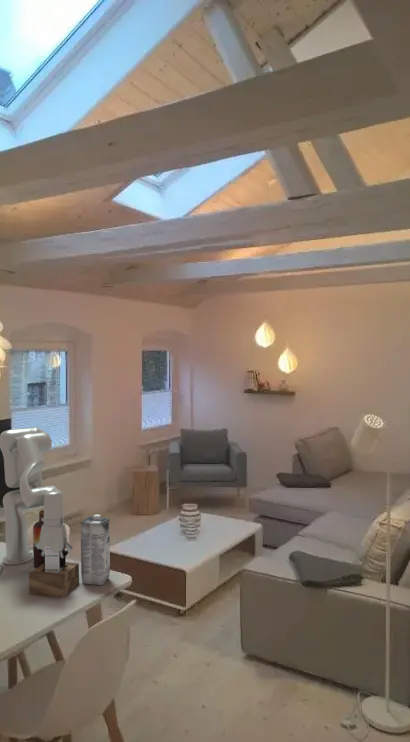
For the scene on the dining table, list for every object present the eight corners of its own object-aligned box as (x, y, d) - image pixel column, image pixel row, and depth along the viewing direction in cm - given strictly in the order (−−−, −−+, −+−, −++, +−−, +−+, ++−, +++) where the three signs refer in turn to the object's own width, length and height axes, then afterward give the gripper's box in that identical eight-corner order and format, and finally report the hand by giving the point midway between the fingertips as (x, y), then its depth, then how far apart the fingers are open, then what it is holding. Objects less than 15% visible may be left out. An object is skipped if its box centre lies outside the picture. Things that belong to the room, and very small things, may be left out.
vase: (28, 575, 232) (27, 514, 231) (42, 565, 242) (41, 506, 241) (52, 577, 229) (51, 516, 228) (65, 567, 240) (64, 508, 239)
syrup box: (59, 582, 216) (59, 546, 216) (44, 582, 216) (44, 546, 216) (63, 577, 222) (63, 541, 221) (48, 576, 222) (49, 541, 221)
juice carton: (102, 587, 219) (101, 520, 218) (79, 584, 222) (78, 518, 221) (112, 578, 228) (111, 514, 227) (89, 575, 231) (88, 512, 230)
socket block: (48, 579, 228) (48, 560, 227) (79, 582, 224) (78, 563, 224) (29, 593, 214) (29, 573, 214) (61, 597, 210) (61, 577, 210)
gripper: (29, 522, 217) (29, 567, 217) (68, 526, 212) (69, 571, 213) (39, 517, 224) (40, 560, 225) (77, 520, 219) (78, 564, 220)
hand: (54, 565), depth 219 cm, fingers closed on syrup box, 6 cm apart
